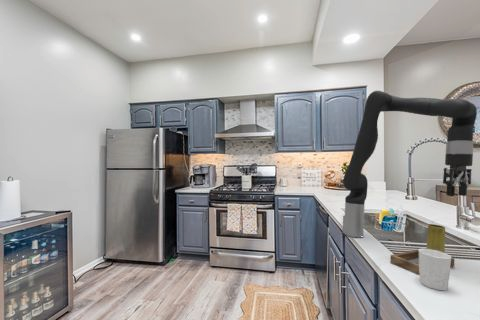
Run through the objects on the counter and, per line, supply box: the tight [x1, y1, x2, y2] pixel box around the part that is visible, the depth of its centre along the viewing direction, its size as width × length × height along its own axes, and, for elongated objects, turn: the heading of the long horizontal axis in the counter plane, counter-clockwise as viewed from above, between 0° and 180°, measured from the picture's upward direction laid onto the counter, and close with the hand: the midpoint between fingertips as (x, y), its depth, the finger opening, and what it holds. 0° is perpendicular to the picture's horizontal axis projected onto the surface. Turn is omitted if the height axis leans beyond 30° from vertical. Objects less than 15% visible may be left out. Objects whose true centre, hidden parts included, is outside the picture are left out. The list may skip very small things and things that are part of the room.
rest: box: [389, 248, 456, 276], centre depth 87 cm, size 11×21×3 cm, turn 115°
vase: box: [425, 223, 446, 253], centre depth 91 cm, size 6×6×14 cm
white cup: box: [418, 248, 452, 291], centre depth 72 cm, size 8×8×10 cm
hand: (456, 195), depth 87 cm, fingers open, 8 cm apart
